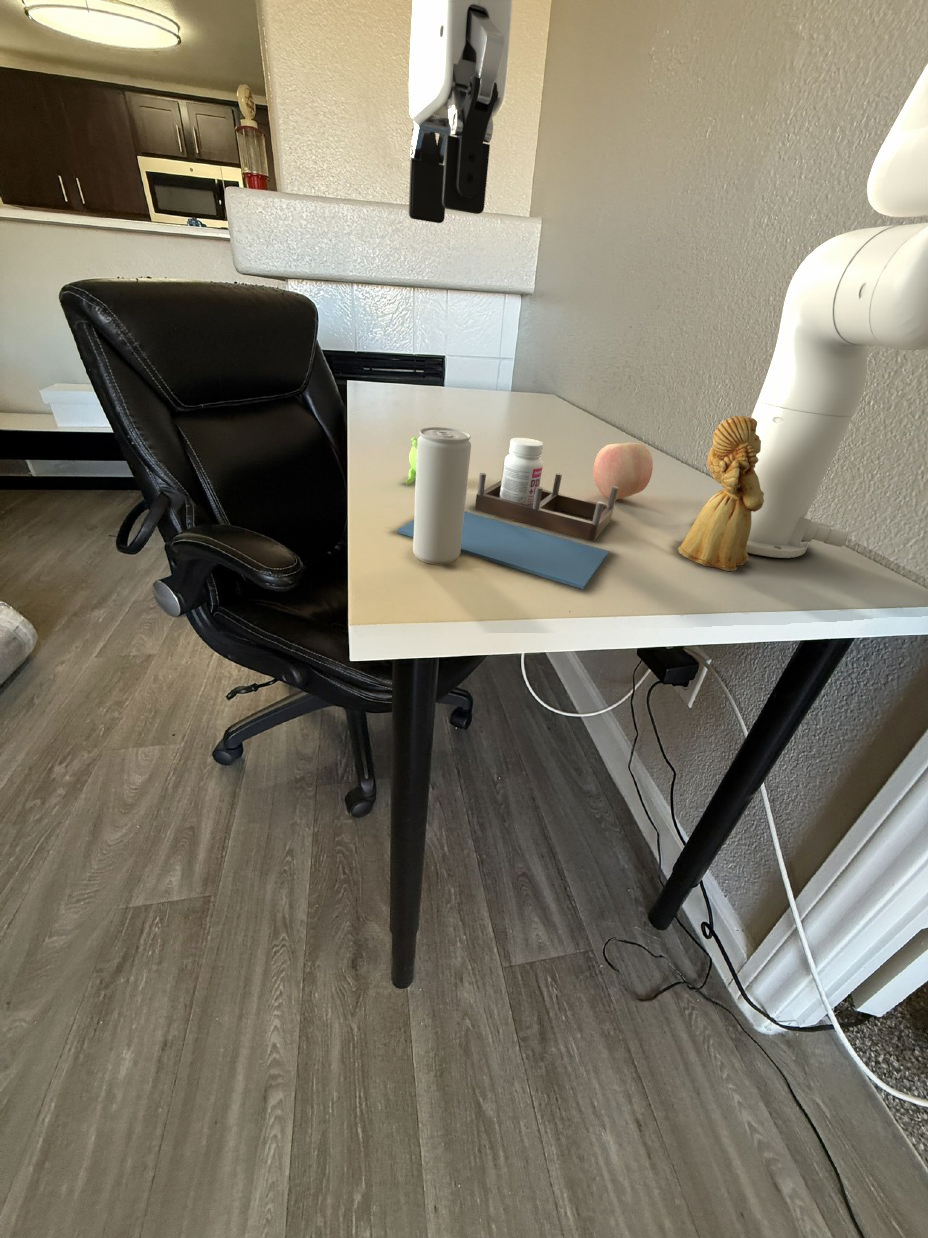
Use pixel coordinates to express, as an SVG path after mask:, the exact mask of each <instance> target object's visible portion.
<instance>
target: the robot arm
mask: <svg viewBox="0 0 928 1238" xmlns="http://www.w3.org/2000/svg"><path fill="white" fill-rule="evenodd" d="M513 2H514V0H412V9H411V27H410V47H409V48H410V50H409V71H408V72H409V77H408V78H409V79H408V106H409V109H408V110H409V115H410V118H411V119H412V121H413V124H414V125H413V128H412V129H411V132H412V133H411V138H412V140H411V146H410V159H409V160H410V161H409V162H410V164H409V189H408V190H409V192H408V195H409V196H408V217H409V218H410V219H412V220H417V221H423V222H429V223H435V224H442V223H443V222H445V217H446V216H445V215H446V210H452V211H456V212H463V213H468V214H474V215H480V214H482V213H483V212H484V209H485V201H486V193H487V191H486V190H487V182H488V181H487V180H488V172H489V171H488V170H489V161H490V160H489V159H490V150H491V144H490V143H491V141H492V138H493V133H494V120H493V118H494V117H495V116H497V114H498V113H499V112H500V111H501V110H502V108H503V107H504V104H505V101H506V95H507V85H508V74H509V62H510V46H511V35H512V34H511V33H512V32H511V31H512V19H513V18H512V17H513ZM437 135H438V138H437ZM437 139H438V140H437ZM866 191H867V192H866V193H867V201H868V202H869V205H870V206H871V207H872V208H873V210H874V211H876V212H877V213H878V214H881V215H883V216H884V215H885V216H887V217H890V218H920V217H928V62H927V63H926V65H925V67H924V68H923V71H922V73H921V74H920V76H919V78H918V79H917V81H916V83H915V84H914V87H913V89H912V90H911V92H910V94H909V96H908V98H907V100H906V102H905V103H904V105H903V108H902V109H901V110H900V112H899V114H898V116H897V118H896V119H895V121H894V123H893V125H892V126H891V128H890V130H889V132H888V134H887V136H886V137H885V140H884V141H883V143H882V145H881V147H880V149H879V151H878V153H877V155H876V157H875V159H874V162H873V164H872V167H871V170H870V173H869V175H868V179H867V186H866ZM781 313H782V314H781V319H780V324H779V331H778V335H777V340H776V345H775V348H774V352H773V355H772V359H771V362H770V365H769V368H768V371H767V374H766V377H765V380H764V383H763V385H762V388H761V390H760V393H759V396H758V399H757V401H756V403H755V406H754V410H753V412H752V414H751V417H750V418H754V419H755V420H756V421H757V427H756V435H758V436H759V439H760V440H761V452H760V453H758V454H756V457H758V460H759V461H758V462H757V463H756V464H755V468H754V470H755V473H756V474H757V476H758V479H759V483H760V489H761V491H762V492H764V496H763V497H764V503H763V505H762V508H761V509H759V510H758V511H756V512H753V511H752V512H751V530H750V535H749V538H748V541H747V545H746V551H747V554H751V555H756V556H762V557H766V558H767V557H768V558H777V559H792V558H797V557H800V556H803V555H804V554H805V553H806V551H807V549H808V547H809V543H811V542H812V540H813V541H818V542H822V543H824V544H825V545H831V546H835V547H839V548H842V547H843V546H844V545H845V543H846V541H847V539H848V536H849V530H846V529H841V528H837V527H834V524H832V523H828V522H824V521H817V520H813V517H812V515H811V510H810V508H811V506H812V504H813V502H814V500H815V498H816V496H817V494H818V491H819V489H820V487H821V486H822V483H823V480H824V479H825V476H826V474H827V472H828V470H829V467H830V466H831V464H832V462H833V460H834V457H835V455H836V453H837V452H838V449H839V447H840V444H841V442H842V440H843V438H844V435H845V433H846V431H847V429H848V427H849V425H850V423H851V422H852V418H853V417H854V415H855V413H856V411H857V409H858V407H859V404H860V402H861V401H862V400H861V399H862V398H863V394H864V391H865V387H866V383H867V375H868V347H875V348H882V349H884V348H885V349H891V350H893V349H894V350H901V351H921V350H928V222H919V223H911V224H903V223H901V224H892V225H884V226H874V227H867V228H859V229H854V230H851V231H847V232H844V233H841V234H838V235H835V236H834V237H832V238H830V239H828V240H826V241H825V242H824V243H822V244H820V245H819V246H817V247H816V248H815V249H814V250H813V251H812V252H811V253H809V254H808V255H807V256H806V258H805V259H804V260H803V261H802V262H801V263H800V265H799V267H798V268H797V269H796V271H795V273H794V274H793V277H792V279H791V281H790V283H789V286H788V288H787V291H786V294H785V298H784V303H783V308H782V312H781Z"/></svg>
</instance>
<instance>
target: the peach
mask: <svg viewBox="0 0 928 1238" xmlns="http://www.w3.org/2000/svg"><path fill="white" fill-rule="evenodd" d="M594 459H595V460H594V463H593V468H592V475H593V481H594V485H595V486H596V488H597V490H598V492H599V493H600V494H601V495H602V496H603V497H604V498H606V499H608V500H609V497H610V493H611V489H612V487H613V486H616V487H618V488H619V489H618V493H617V497H616V500H615V501H617V500H621V499H625V498H627V497H631V496H634V495H636V494H639V493H641V492H643V491H644V490H645V489H646V488H647V486H648V485H649V483H650V481H651V478H652V475H653V470H654V462H653V457H652V453H651V452H650V450H649V448H648V447H647V446H646V445H644V444H643V443H641V442H625V443H608V444H606V445H604V446H603V447H601V448H600V450H599V452H598V453H597V454H596V457H595V458H594Z"/></svg>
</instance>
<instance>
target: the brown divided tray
mask: <svg viewBox="0 0 928 1238" xmlns="http://www.w3.org/2000/svg"><path fill="white" fill-rule="evenodd" d="M502 462H503V464H502V471H501V477H500V480H499V481H497V482H496V483H493V484H492V485H490V486H488V487H487V488H486V479H487V473H486V472H480V473H479V477H478V485H477V493H476V495H475V503H474V510H476V511H479V512H483V513H487V514H489V515H490V514H491V515H494V516H498V517H502V518H505V519H509V520H513V521H517V522H520V523H524V524H528V525H531V526H534V527H538V528H542V529H546V530H549V531H554V532H557V533H560V534H564V535H568V536H571V537H576V538H580V539H583V540H586V541H589V542H595V541H596V540H597V538H598V537H599V536H600V535H601V533H602V532H603V531H604V530H605V528H606V527H607V526H608V525H609V524H610V522H611V521H612V517H613V514H614V510H615V504H616V501H617V500H616V497H617V493H618V489H619V488H618V487H616V486H613V487H612V489H611V493H610V497H609V499H608V502H607V504H605V502H603V501H600V500H598V501H592V500H588V499H584V498H580V497H576V496H571V495H568V494H565V493H564V494H563V493H560V487H561V482H562V478H563V477H562V476H563V474H562V473H560V472H556V473H555V476H554V481H553V486H552V490H547V489H544V488H543V487H542V486H539V487H536V490H535V495H534V501H533V506H530V505H526V504H522V503H518V502H514V501H510V500H506V499H502V498H499V497H500V491H501V484H502V476H503V469H504V462H505V460H504V461H502ZM554 510H556V511H560V512H556V511H554ZM561 512H564V513H567V514H564V513H561ZM568 514H571V515H576V517H575V516H571V515H568ZM577 516H578V517H577ZM579 516H580V517H583V518H587V519H583V518H580V517H579ZM588 519H590V520H588ZM591 520H592V521H591Z"/></svg>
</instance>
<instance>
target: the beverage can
mask: <svg viewBox="0 0 928 1238" xmlns="http://www.w3.org/2000/svg"><path fill="white" fill-rule="evenodd" d="M419 435H420V436H418V438H417V440H418V441H417V462H416V479H415V486H414V487H415V488H414V510H413V511H414V513H413V515H414V517H413V521H414V537H412V538H413V539H412V553H413V554H414V556H415V557H416V559H418V560H419V561H421V562H423V563H426V564H429V565H440V566H441V565H448V564H451V563H454V562H455V561H456V560H457V559H458V558H459V557H460V555H461V552H460V551H461V541H462V531H463V521H464V511H465V512H466V501H467V490H468V480H469V469H470V462H471V461H470V460H471V449H472V442H471V441H470V439H471V435H470V433H469V432H466V431H465V430H464V431H463V430H460V429H456V428H452V427H451V428H450V427H443V426H442V427H440V426H433V427H431V426H430V427H424V428H420V430H419Z"/></svg>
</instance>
